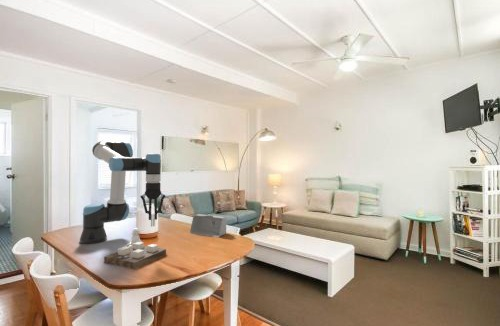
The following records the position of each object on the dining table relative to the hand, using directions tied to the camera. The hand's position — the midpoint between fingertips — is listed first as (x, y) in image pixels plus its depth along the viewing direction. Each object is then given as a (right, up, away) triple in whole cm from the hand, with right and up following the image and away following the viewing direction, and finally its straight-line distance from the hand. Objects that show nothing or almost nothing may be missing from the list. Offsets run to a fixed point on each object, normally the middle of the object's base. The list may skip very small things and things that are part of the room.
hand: (152, 225), depth 148 cm
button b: (-4, -14, -9) cm, 17 cm away
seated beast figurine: (-16, -17, +14) cm, 27 cm away
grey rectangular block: (+24, -17, +51) cm, 59 cm away
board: (-7, -16, -4) cm, 18 cm away
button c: (-9, -14, +4) cm, 17 cm away
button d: (0, -14, 0) cm, 14 cm away
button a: (-13, -14, -5) cm, 20 cm away
